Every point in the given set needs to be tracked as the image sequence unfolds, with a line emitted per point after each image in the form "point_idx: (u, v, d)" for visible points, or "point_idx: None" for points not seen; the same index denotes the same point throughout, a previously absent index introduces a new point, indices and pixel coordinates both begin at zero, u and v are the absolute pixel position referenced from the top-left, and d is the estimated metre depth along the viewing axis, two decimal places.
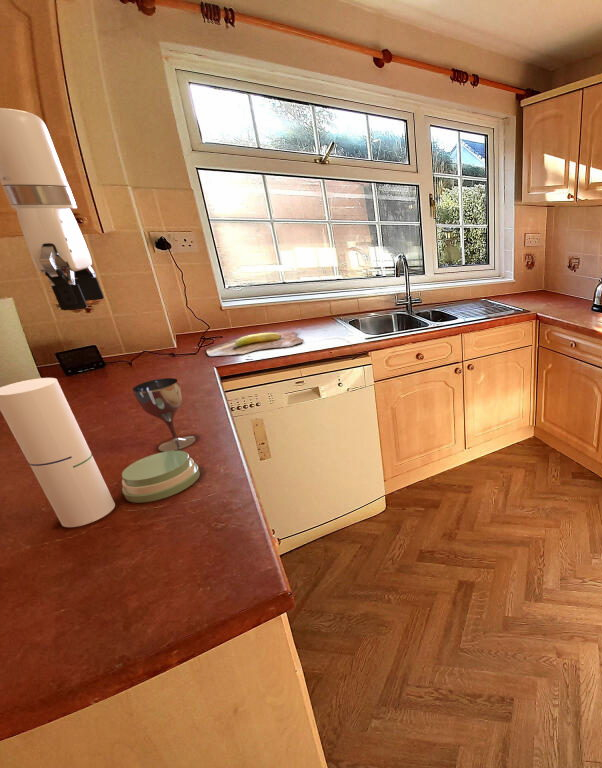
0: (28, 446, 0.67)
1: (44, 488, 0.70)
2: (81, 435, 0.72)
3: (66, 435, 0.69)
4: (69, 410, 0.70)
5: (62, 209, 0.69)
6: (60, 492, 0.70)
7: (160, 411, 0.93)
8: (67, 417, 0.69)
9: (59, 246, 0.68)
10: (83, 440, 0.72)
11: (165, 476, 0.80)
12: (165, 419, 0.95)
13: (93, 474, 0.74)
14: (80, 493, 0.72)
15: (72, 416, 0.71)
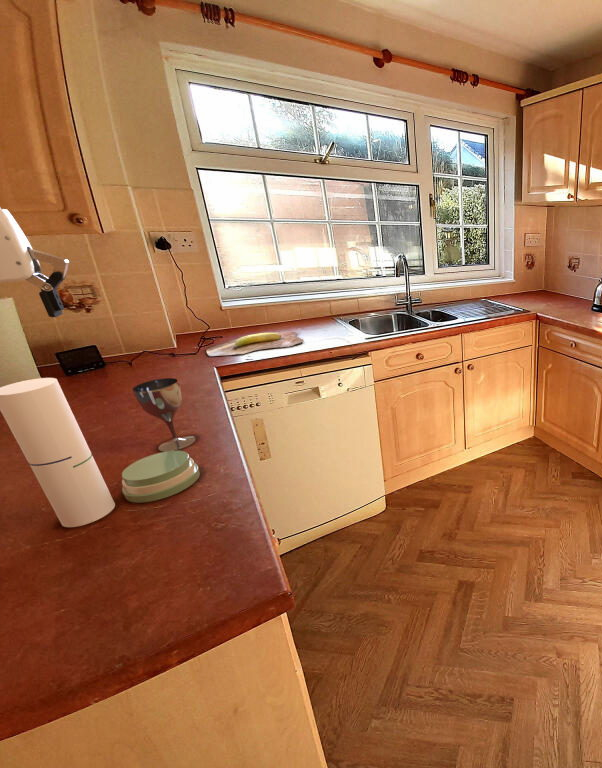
0: (28, 446, 0.67)
1: (44, 488, 0.70)
2: (81, 435, 0.72)
3: (66, 435, 0.69)
4: (69, 410, 0.70)
5: None
6: (60, 492, 0.70)
7: (160, 411, 0.93)
8: (67, 417, 0.69)
9: None
10: (83, 440, 0.72)
11: (165, 476, 0.80)
12: (165, 419, 0.95)
13: (93, 474, 0.74)
14: (80, 493, 0.72)
15: (72, 416, 0.71)
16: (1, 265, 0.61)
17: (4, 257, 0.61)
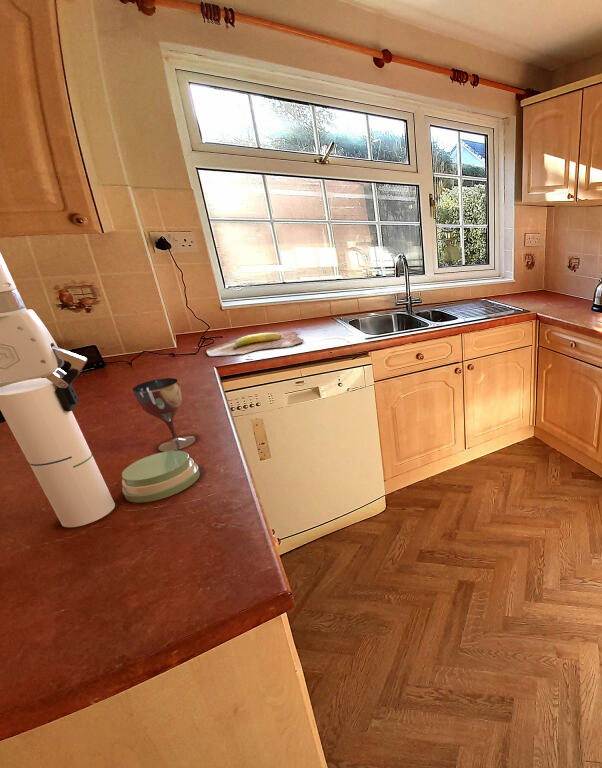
0: (28, 446, 0.67)
1: (44, 488, 0.70)
2: (81, 435, 0.72)
3: (66, 435, 0.69)
4: None
5: None
6: (60, 492, 0.70)
7: (160, 411, 0.93)
8: (67, 417, 0.69)
9: (55, 344, 0.68)
10: (83, 440, 0.72)
11: (165, 476, 0.80)
12: (165, 419, 0.95)
13: (93, 474, 0.74)
14: (80, 493, 0.72)
15: (72, 416, 0.71)
16: (27, 364, 0.64)
17: (30, 357, 0.64)
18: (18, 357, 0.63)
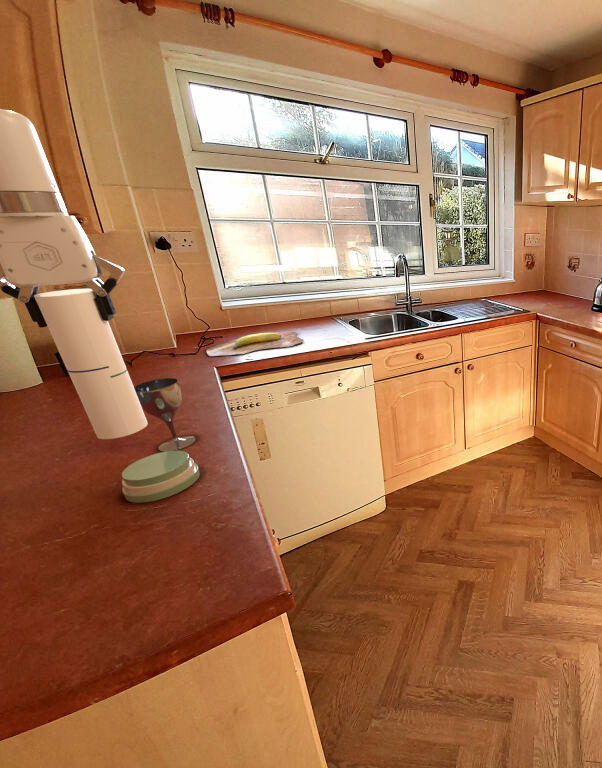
0: (68, 352, 0.68)
1: (82, 397, 0.71)
2: (117, 348, 0.73)
3: (104, 344, 0.71)
4: (107, 321, 0.72)
5: None
6: (97, 401, 0.72)
7: (160, 411, 0.93)
8: (105, 326, 0.71)
9: (94, 253, 0.69)
10: (119, 353, 0.74)
11: (165, 476, 0.80)
12: (165, 419, 0.95)
13: (128, 388, 0.75)
14: (116, 405, 0.73)
15: (109, 327, 0.72)
16: (69, 268, 0.65)
17: (72, 260, 0.65)
18: (61, 259, 0.65)
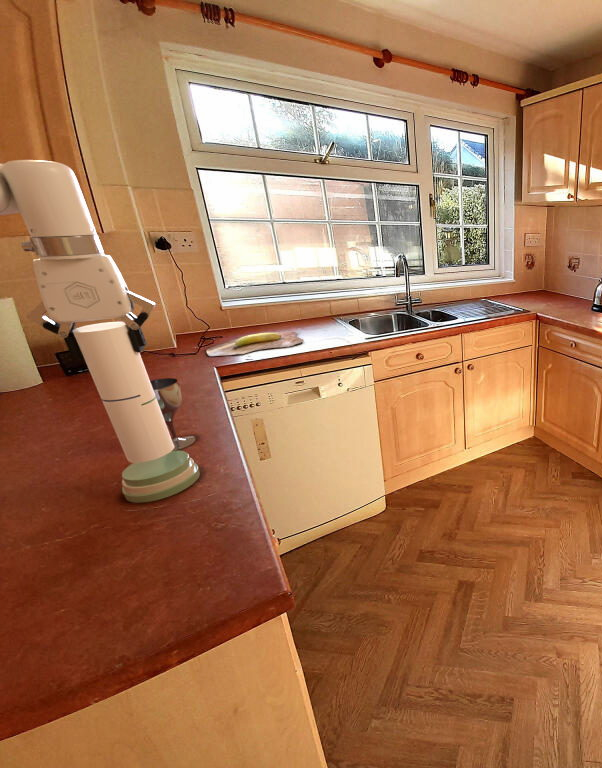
0: (103, 383, 0.72)
1: (115, 424, 0.75)
2: (147, 376, 0.78)
3: (136, 374, 0.75)
4: (138, 352, 0.76)
5: None
6: (129, 427, 0.76)
7: (161, 411, 0.93)
8: (137, 357, 0.75)
9: None
10: (149, 381, 0.78)
11: (165, 476, 0.80)
12: (165, 419, 0.95)
13: (157, 414, 0.79)
14: (146, 430, 0.77)
15: (140, 358, 0.76)
16: (105, 305, 0.69)
17: (108, 298, 0.69)
18: (98, 297, 0.69)
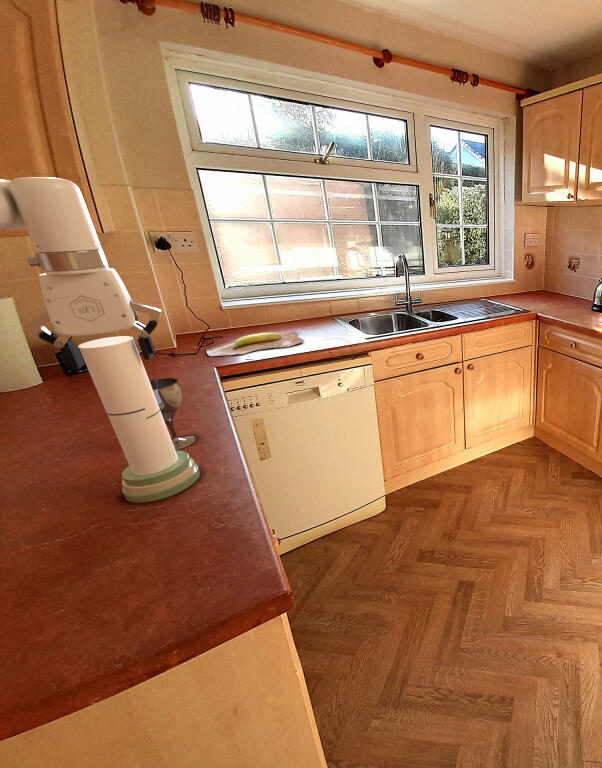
0: (109, 397, 0.73)
1: (120, 437, 0.76)
2: (152, 390, 0.79)
3: (141, 388, 0.76)
4: (143, 366, 0.77)
5: None
6: (134, 441, 0.77)
7: (161, 411, 0.93)
8: (141, 371, 0.76)
9: None
10: (153, 395, 0.79)
11: (165, 476, 0.80)
12: (165, 419, 0.95)
13: (162, 426, 0.80)
14: (151, 443, 0.78)
15: (145, 372, 0.77)
16: (110, 318, 0.70)
17: (113, 311, 0.70)
18: (103, 311, 0.70)
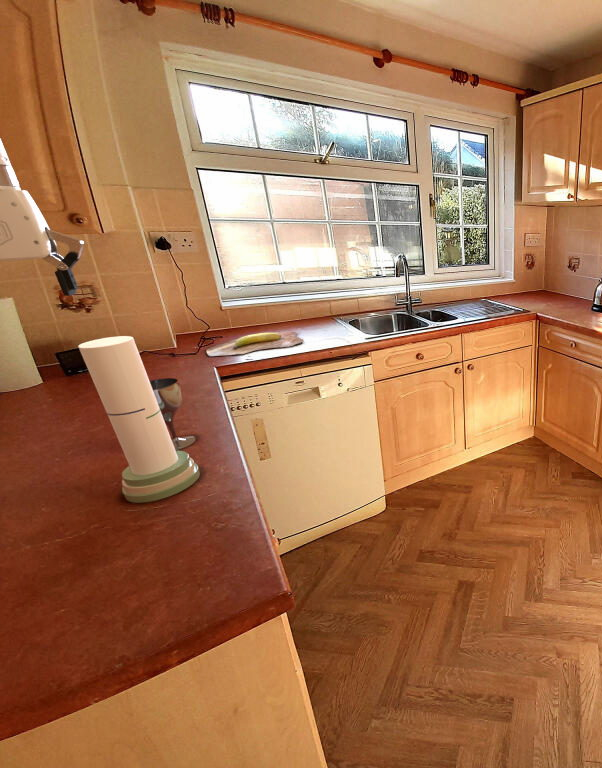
0: (109, 397, 0.73)
1: (120, 437, 0.76)
2: (152, 390, 0.79)
3: (141, 388, 0.76)
4: (143, 366, 0.77)
5: None
6: (134, 441, 0.77)
7: (161, 411, 0.93)
8: (141, 371, 0.76)
9: (49, 230, 0.67)
10: (153, 395, 0.79)
11: (165, 476, 0.80)
12: (165, 419, 0.95)
13: (162, 426, 0.80)
14: (151, 443, 0.78)
15: (145, 372, 0.77)
16: (20, 244, 0.63)
17: (23, 236, 0.63)
18: (11, 235, 0.63)
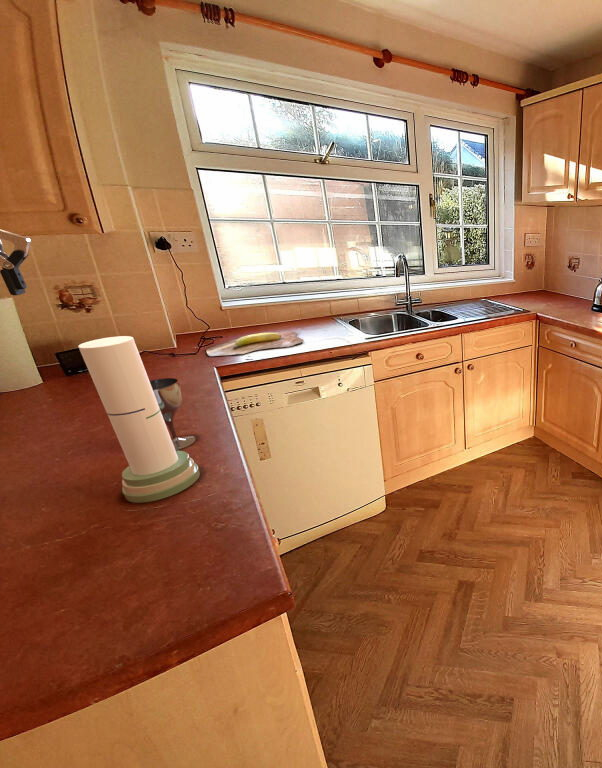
0: (109, 397, 0.73)
1: (120, 437, 0.76)
2: (152, 390, 0.79)
3: (141, 388, 0.76)
4: (143, 366, 0.77)
5: None
6: (134, 441, 0.77)
7: (161, 411, 0.93)
8: (141, 371, 0.76)
9: None
10: (153, 395, 0.79)
11: (165, 476, 0.80)
12: (165, 419, 0.95)
13: (162, 426, 0.80)
14: (151, 443, 0.78)
15: (145, 372, 0.77)
16: None
17: None
18: None
